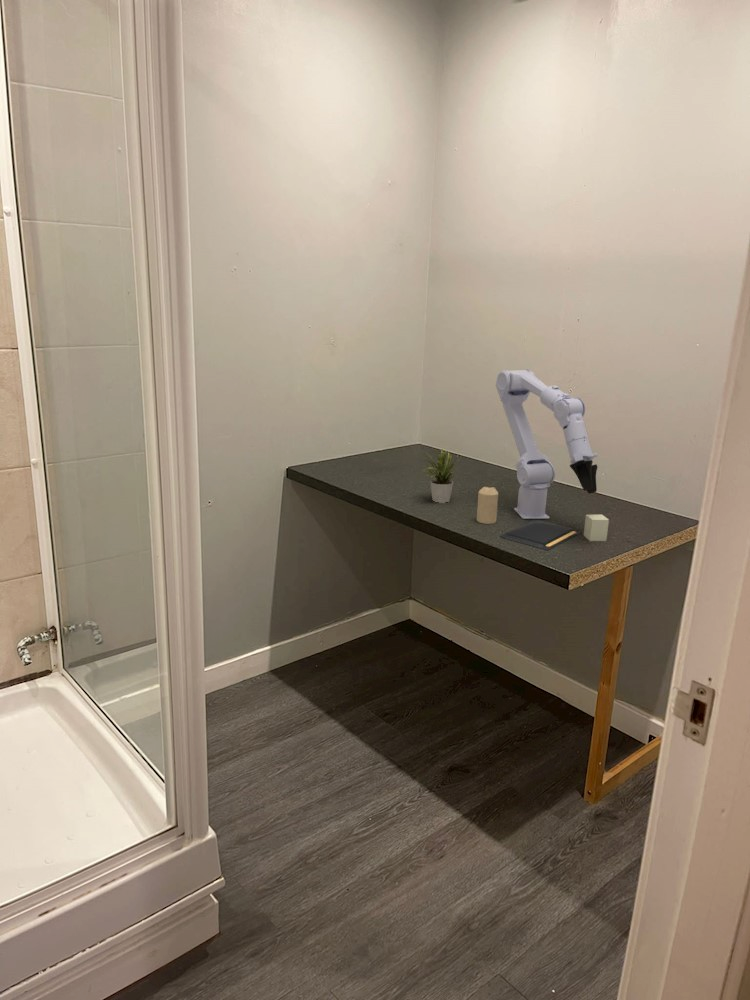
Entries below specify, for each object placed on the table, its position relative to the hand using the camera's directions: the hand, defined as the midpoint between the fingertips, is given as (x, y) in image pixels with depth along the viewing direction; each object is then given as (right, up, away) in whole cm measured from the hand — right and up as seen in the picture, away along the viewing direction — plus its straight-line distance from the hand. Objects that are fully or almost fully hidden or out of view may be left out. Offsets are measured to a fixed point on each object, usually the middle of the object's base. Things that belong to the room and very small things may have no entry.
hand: (590, 491), depth 186 cm
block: (+3, -13, +6) cm, 14 cm away
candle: (-25, -8, +17) cm, 31 cm away
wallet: (-11, -13, +7) cm, 18 cm away
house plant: (-37, -2, +36) cm, 51 cm away
